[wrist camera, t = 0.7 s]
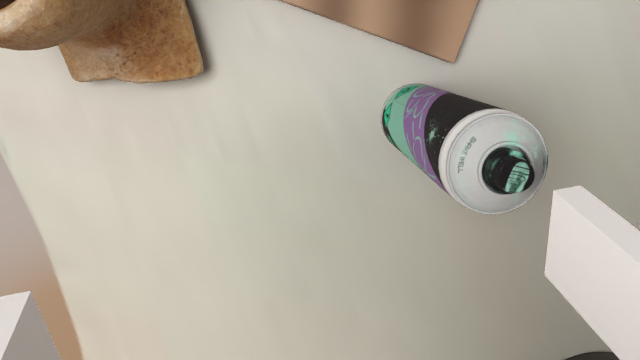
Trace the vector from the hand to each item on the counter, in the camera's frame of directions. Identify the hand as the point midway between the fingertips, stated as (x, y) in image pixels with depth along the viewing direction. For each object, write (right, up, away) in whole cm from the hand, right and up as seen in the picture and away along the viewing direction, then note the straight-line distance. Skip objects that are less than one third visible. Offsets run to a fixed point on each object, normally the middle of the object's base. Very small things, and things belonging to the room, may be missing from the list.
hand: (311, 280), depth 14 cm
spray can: (+8, +8, +31) cm, 33 cm away
